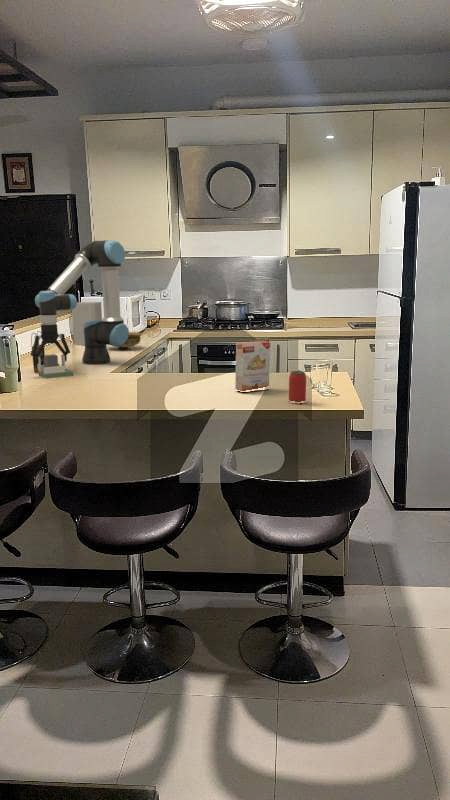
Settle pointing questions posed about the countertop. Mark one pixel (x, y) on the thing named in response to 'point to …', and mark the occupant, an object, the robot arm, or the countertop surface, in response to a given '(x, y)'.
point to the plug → (50, 360)
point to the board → (54, 371)
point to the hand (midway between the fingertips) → (51, 369)
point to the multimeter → (39, 356)
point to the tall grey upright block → (84, 318)
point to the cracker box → (252, 365)
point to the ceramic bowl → (130, 341)
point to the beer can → (297, 386)
